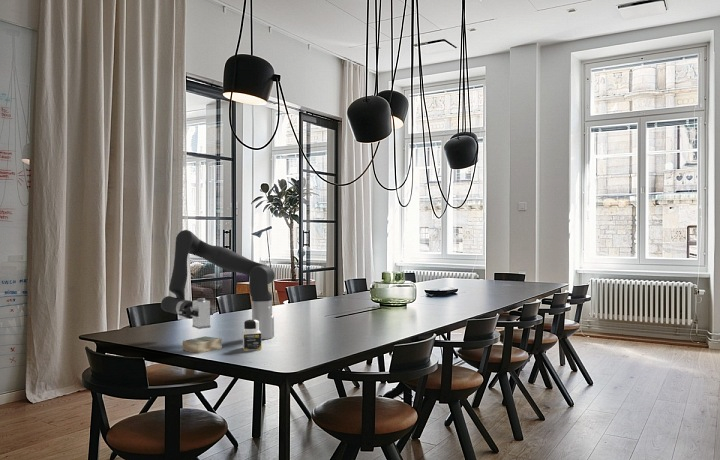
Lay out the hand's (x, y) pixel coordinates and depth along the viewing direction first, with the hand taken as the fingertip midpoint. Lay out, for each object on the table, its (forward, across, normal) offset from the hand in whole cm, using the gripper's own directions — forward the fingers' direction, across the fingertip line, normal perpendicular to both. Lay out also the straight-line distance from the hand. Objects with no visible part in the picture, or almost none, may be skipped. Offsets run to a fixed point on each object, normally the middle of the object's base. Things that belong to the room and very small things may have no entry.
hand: (204, 313), depth 241 cm
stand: (-2, 0, +15) cm, 15 cm away
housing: (-3, 0, +6) cm, 7 cm away
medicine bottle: (+11, +16, +15) cm, 25 cm away
